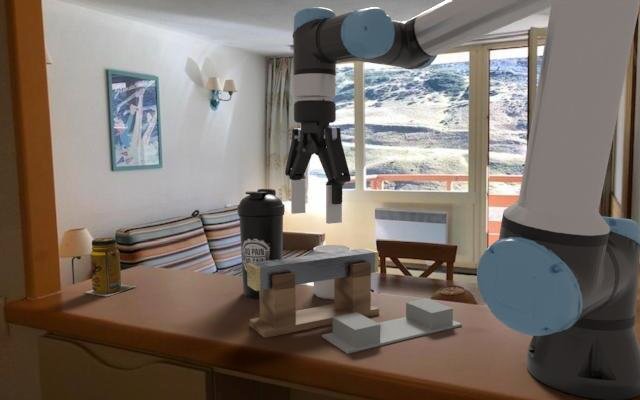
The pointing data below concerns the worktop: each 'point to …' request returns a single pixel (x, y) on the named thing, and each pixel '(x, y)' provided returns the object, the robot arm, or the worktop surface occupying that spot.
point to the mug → (327, 286)
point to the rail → (310, 267)
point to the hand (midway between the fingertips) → (315, 217)
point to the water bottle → (260, 231)
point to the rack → (285, 319)
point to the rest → (390, 326)
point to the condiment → (106, 268)
